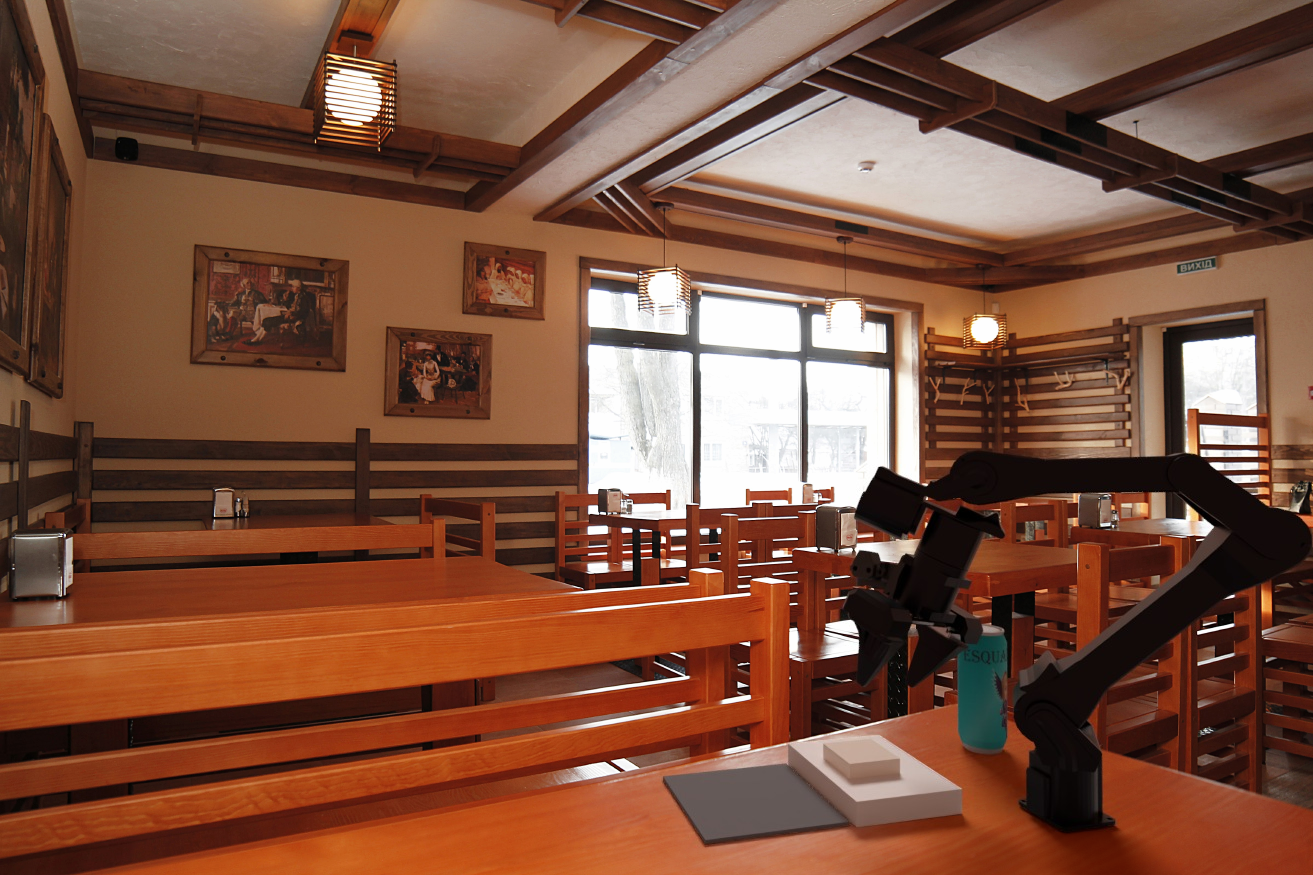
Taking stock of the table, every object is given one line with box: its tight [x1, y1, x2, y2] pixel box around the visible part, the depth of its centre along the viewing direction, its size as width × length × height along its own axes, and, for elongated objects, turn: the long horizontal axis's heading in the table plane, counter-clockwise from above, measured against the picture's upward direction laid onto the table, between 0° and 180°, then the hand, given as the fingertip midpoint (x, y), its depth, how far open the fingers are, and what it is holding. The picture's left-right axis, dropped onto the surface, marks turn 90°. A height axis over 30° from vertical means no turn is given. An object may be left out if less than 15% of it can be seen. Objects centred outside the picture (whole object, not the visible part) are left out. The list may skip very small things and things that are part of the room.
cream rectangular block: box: [823, 739, 900, 779], centre depth 86 cm, size 6×6×2 cm
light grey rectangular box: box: [787, 734, 963, 828], centre depth 86 cm, size 12×16×2 cm
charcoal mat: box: [662, 763, 851, 845], centre depth 82 cm, size 15×15×1 cm
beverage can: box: [957, 623, 1008, 756], centre depth 98 cm, size 6×6×15 cm
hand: (885, 684), depth 87 cm, fingers open, 9 cm apart
